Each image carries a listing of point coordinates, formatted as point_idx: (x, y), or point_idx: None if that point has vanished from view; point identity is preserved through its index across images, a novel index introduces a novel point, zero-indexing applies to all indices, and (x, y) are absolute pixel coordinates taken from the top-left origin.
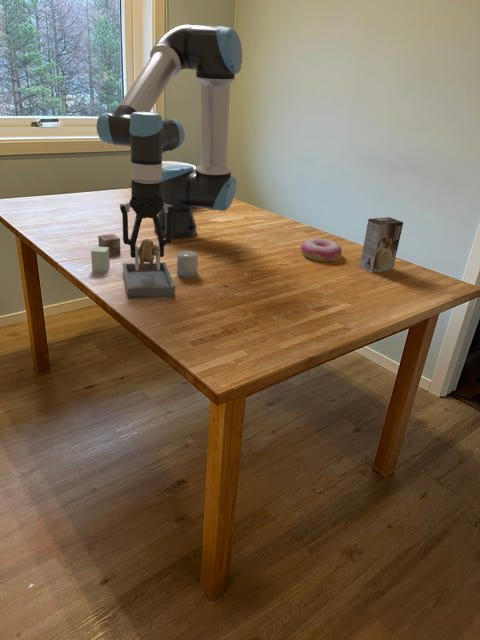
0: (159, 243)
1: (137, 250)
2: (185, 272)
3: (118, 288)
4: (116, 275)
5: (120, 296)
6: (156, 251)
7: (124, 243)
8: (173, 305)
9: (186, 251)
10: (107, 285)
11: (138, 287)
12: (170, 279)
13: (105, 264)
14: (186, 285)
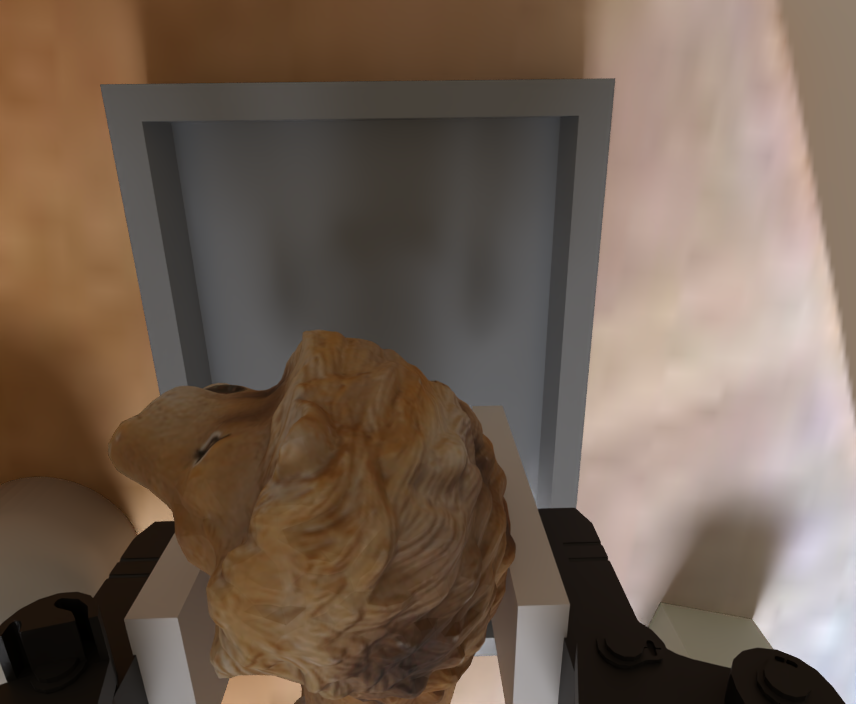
0: (116, 698)
1: (522, 561)
2: (40, 509)
3: (628, 312)
4: (602, 544)
5: (640, 143)
6: (185, 403)
7: (796, 660)
8: None
9: None
10: (701, 376)
11: (499, 110)
12: (157, 298)
13: (692, 650)
14: (49, 329)
